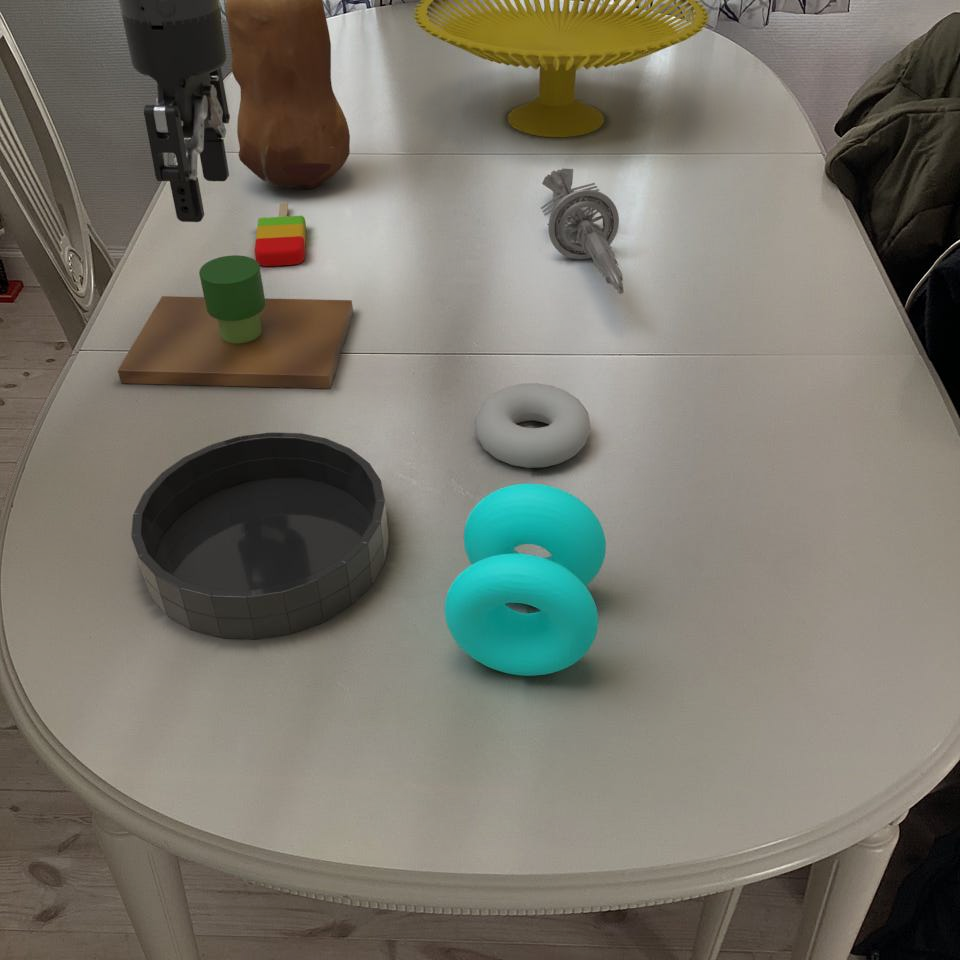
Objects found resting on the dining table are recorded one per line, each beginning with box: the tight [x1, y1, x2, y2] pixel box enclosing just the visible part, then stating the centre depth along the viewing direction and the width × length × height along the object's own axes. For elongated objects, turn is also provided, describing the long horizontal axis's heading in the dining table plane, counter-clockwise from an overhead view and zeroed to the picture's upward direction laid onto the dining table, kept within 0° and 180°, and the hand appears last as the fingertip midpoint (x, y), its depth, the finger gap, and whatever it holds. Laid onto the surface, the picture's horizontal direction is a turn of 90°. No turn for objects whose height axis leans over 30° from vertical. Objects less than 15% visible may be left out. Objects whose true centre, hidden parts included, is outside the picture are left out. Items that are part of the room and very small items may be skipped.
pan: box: [130, 432, 390, 640], centre depth 77 cm, size 18×18×4 cm
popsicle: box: [254, 201, 307, 267], centre depth 119 cm, size 6×15×2 cm, turn 7°
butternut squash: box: [225, 0, 351, 191], centre depth 123 cm, size 14×13×25 cm
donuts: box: [444, 483, 607, 677], centre depth 69 cm, size 10×10×10 cm
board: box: [117, 295, 354, 390], centre depth 100 cm, size 20×14×2 cm
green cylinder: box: [198, 255, 266, 344], centre depth 98 cm, size 6×6×7 cm
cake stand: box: [412, 0, 711, 138], centre depth 143 cm, size 40×40×15 cm
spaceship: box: [540, 168, 624, 295], centre depth 112 cm, size 8×35×8 cm
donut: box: [474, 382, 592, 469], centre depth 88 cm, size 10×3×10 cm
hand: (204, 199), depth 90 cm, fingers open, 8 cm apart
